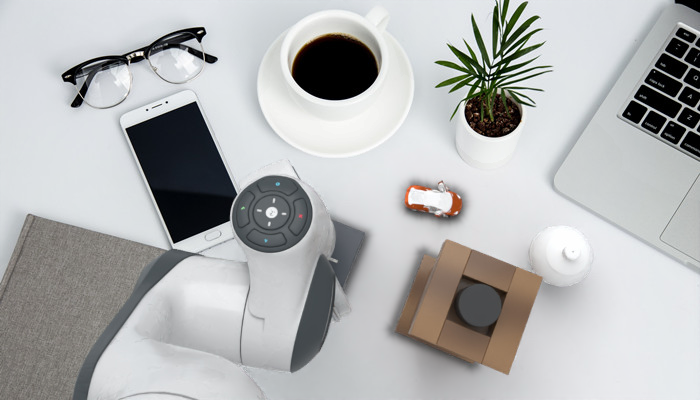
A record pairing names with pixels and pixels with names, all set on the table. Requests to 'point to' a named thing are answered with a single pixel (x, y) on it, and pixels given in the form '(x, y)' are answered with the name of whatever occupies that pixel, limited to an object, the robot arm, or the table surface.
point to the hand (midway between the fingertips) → (308, 249)
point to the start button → (478, 305)
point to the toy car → (433, 200)
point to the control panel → (345, 250)
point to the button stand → (439, 306)
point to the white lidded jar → (561, 255)
